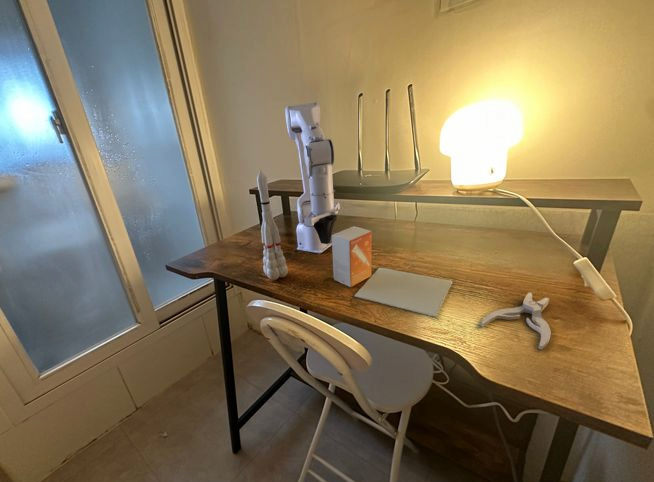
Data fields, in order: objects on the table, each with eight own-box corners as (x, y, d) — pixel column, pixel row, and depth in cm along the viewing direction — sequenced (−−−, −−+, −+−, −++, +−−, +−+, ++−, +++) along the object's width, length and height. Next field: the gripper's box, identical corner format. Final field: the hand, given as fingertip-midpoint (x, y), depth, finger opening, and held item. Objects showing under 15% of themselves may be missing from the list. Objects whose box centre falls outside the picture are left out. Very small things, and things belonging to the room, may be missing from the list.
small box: (350, 288, 76) (349, 240, 71) (333, 279, 81) (330, 234, 76) (372, 276, 80) (372, 230, 74) (354, 269, 85) (353, 225, 79)
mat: (354, 296, 73) (354, 295, 73) (379, 268, 84) (379, 267, 83) (435, 317, 62) (435, 316, 62) (452, 281, 73) (452, 280, 73)
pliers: (480, 318, 58) (510, 287, 65) (478, 325, 58) (509, 293, 66) (545, 342, 50) (571, 303, 58) (543, 350, 51) (569, 310, 59)
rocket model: (292, 271, 89) (279, 166, 76) (284, 284, 83) (268, 172, 70) (269, 270, 91) (253, 168, 78) (260, 282, 85) (240, 174, 72)
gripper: (320, 201, 68) (324, 255, 74) (349, 186, 78) (350, 235, 84) (295, 200, 72) (301, 251, 78) (325, 185, 82) (328, 232, 88)
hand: (325, 242), depth 81 cm, fingers closed
